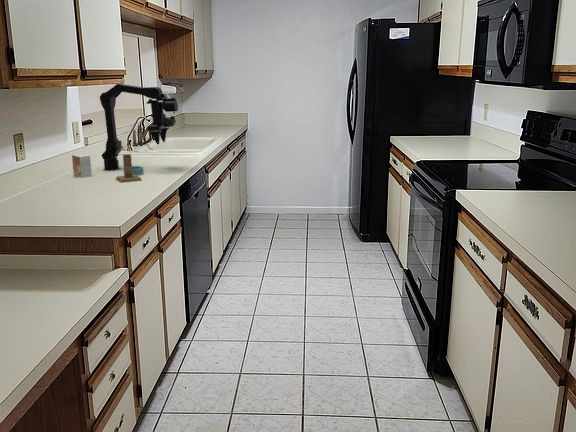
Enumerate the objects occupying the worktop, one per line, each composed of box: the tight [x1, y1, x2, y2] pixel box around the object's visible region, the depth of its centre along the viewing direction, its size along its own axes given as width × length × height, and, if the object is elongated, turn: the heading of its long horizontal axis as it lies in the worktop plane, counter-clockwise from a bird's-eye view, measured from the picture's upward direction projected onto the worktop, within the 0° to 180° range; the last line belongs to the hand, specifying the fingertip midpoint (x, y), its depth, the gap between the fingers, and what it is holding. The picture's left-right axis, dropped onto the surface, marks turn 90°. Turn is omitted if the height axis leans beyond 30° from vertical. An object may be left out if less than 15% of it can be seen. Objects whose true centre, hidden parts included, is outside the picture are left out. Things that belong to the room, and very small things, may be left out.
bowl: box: [132, 165, 145, 176], centre depth 276 cm, size 9×9×4 cm
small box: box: [71, 153, 93, 178], centre depth 271 cm, size 8×6×10 cm
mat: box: [115, 178, 143, 184], centre depth 263 cm, size 10×10×1 cm
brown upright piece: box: [115, 153, 142, 183], centre depth 261 cm, size 9×9×12 cm
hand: (161, 143), depth 284 cm, fingers open, 9 cm apart
